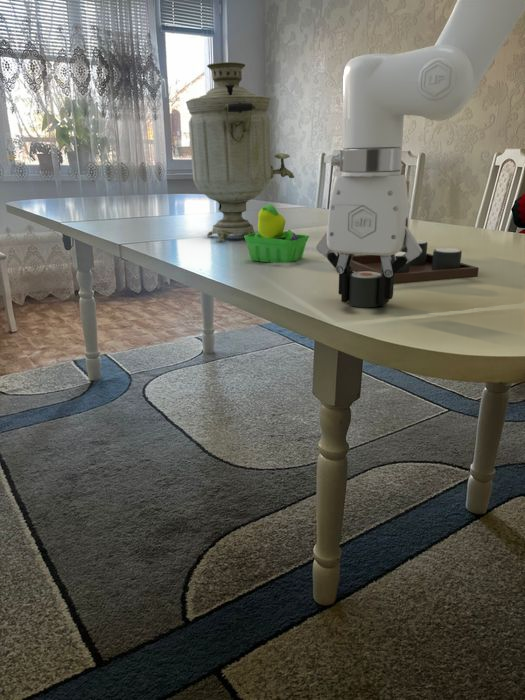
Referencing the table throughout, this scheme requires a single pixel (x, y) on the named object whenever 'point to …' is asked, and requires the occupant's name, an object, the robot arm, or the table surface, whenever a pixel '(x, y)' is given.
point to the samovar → (231, 147)
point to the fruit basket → (274, 239)
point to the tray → (413, 270)
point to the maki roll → (364, 289)
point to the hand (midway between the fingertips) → (365, 300)
